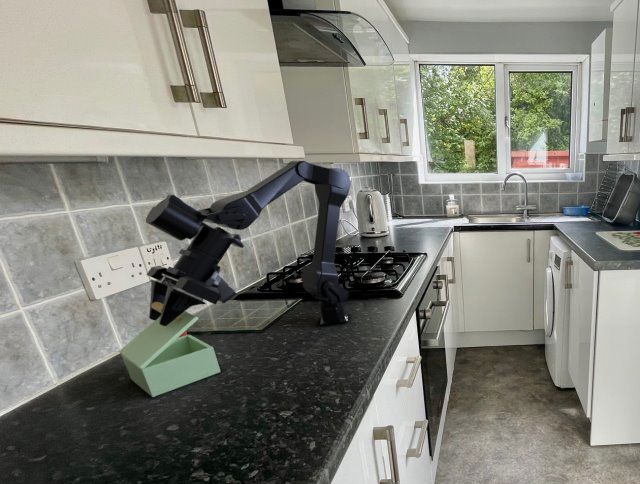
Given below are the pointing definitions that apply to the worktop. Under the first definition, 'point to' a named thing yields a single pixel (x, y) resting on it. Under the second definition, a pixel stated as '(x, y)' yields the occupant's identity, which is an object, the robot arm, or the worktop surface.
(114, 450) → the worktop surface
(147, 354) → the bin lid
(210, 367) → the bin
